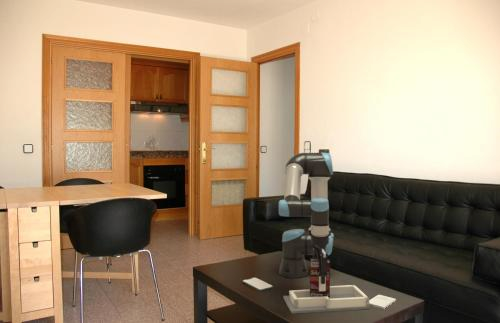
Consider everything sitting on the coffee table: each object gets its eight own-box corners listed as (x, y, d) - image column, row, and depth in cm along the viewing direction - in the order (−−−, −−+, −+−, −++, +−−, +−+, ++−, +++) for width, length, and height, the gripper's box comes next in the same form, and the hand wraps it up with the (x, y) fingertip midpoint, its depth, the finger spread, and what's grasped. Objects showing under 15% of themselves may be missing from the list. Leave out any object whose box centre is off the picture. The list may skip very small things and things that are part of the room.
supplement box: (309, 298, 170) (309, 261, 170) (309, 294, 175) (309, 258, 174) (330, 299, 169) (330, 262, 168) (329, 295, 173) (329, 259, 173)
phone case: (274, 289, 191) (255, 280, 204) (274, 286, 191) (255, 276, 204) (259, 293, 186) (240, 283, 199) (259, 290, 186) (240, 280, 199)
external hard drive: (365, 305, 170) (378, 297, 179) (384, 311, 165) (396, 302, 174) (365, 302, 170) (378, 294, 179) (384, 307, 165) (396, 298, 174)
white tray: (283, 298, 178) (283, 288, 178) (354, 294, 182) (354, 284, 182) (291, 313, 162) (291, 302, 161) (369, 309, 165) (369, 298, 165)
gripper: (305, 230, 180) (305, 281, 180) (317, 240, 161) (318, 296, 162) (321, 229, 181) (321, 280, 181) (335, 239, 162) (335, 295, 163)
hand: (319, 288), depth 172 cm, fingers closed on supplement box, 6 cm apart
